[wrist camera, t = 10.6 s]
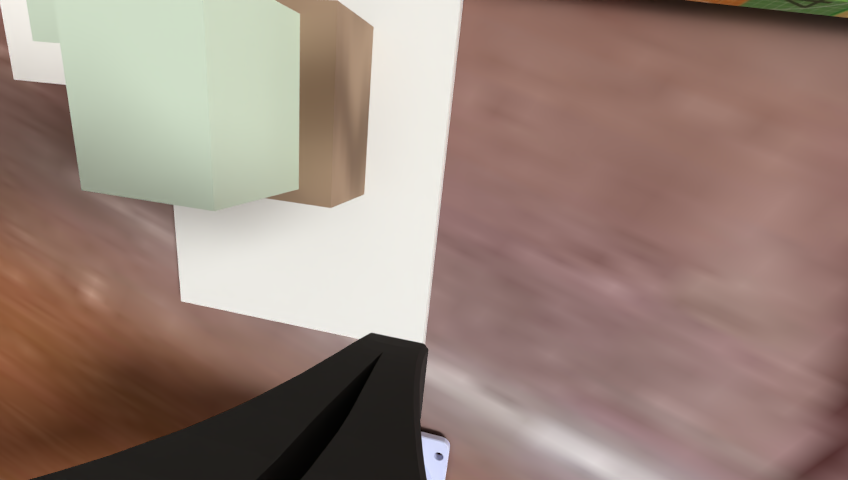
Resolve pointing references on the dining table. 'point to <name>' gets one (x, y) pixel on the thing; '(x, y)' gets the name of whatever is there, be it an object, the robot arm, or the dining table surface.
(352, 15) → the walnut brick
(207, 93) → the sage brick
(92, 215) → the dining table surface
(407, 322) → the plate
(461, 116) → the dining table surface
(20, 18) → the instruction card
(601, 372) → the dining table surface
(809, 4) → the puzzle game
